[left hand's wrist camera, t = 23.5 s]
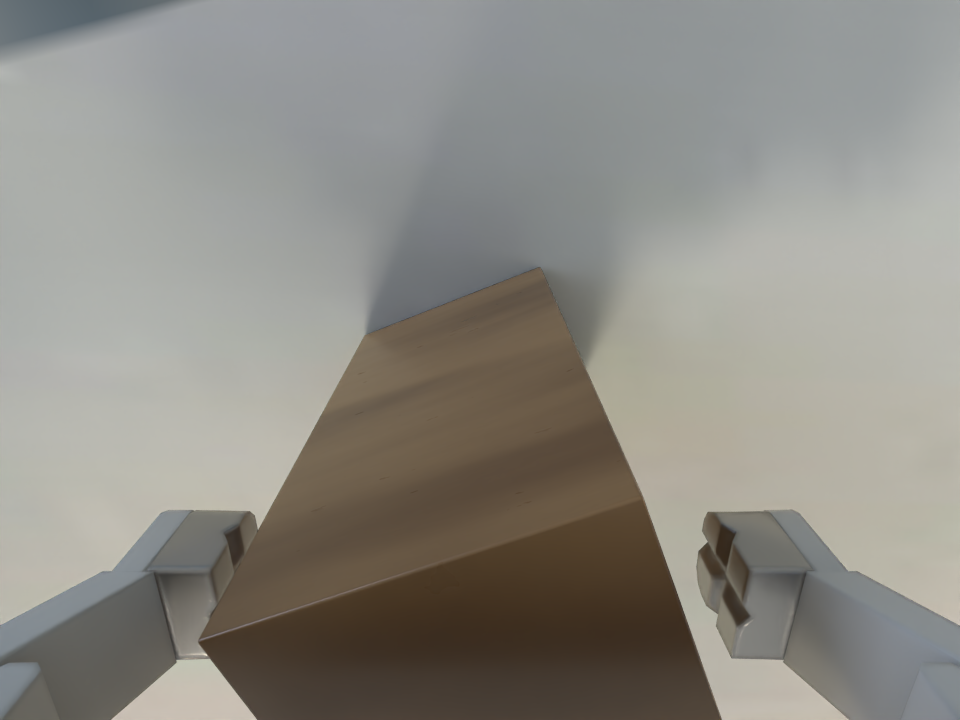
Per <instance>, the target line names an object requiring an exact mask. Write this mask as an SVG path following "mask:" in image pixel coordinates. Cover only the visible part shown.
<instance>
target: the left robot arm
mask: <svg viewBox="0 0 960 720" xmlns="http://www.w3.org/2000/svg"><path fill="white" fill-rule="evenodd" d="M257 532H258V529H257V524H256V519H255V515H254V514H252V513H251V512H250V511H212V510H196V511H193V510H168V511H165V512H162V513H161V514H160V515H159V516H158V517H157V518H156V519H155V521H154V522H153V523H152V524H151V525H150V526H149V528H148V529H147V530H146V531H145V532H144V534H143V535H142V536H141V537H140V538H139V540H138V541H137V542H136V543H135V544H134V546H133V547H132V548H131V549H130V550H129V551H128V553H127V554H126V555H125V556H124V557H123V559H122V560H121V561H120V562H119V563H118V565H117V566H116V567H115V568H114V569H113V570H112V571H103V572H101V573H99V574H97V575H95V576H93V577H91V578H89V579H87V580H86V581H84V582H82V583H80V584H78V585H76V586H74V587H72V588H70V589H69V590H67V591H65V592H63V593H61V594H59V595H57V596H55V597H53V598H52V599H50V600H48V601H46V602H44V603H42V604H40V605H38V606H36V607H34V608H33V609H31V610H29V611H27V612H25V613H23V614H21V615H19V616H17V617H16V618H14V619H12V620H10V621H8V622H6V623H4V624H2V625H0V720H111V719H112V718H113V717H114V716H116V715H117V714H118V713H119V712H120V711H121V710H123V709H124V708H125V707H126V706H127V705H128V704H129V703H131V702H132V701H133V700H134V699H135V698H136V697H138V696H139V695H140V694H141V693H142V692H143V691H144V690H146V689H147V688H148V687H149V686H150V685H151V684H152V683H154V682H155V681H156V680H157V679H158V678H159V677H161V676H162V675H163V674H164V673H165V672H166V671H167V670H169V669H170V668H171V667H172V666H173V665H174V664H176V662H177V661H176V660H184V659H210V658H209V657H208V655H207V654H206V653H205V652H204V650H203V649H202V648H201V646H200V645H199V643H198V639H199V638H200V636H201V634H202V632H203V630H204V628H205V627H206V625H207V623H208V621H209V619H210V617H211V616H212V614H213V612H214V610H215V608H216V606H217V605H218V603H219V601H220V599H221V597H222V596H223V594H224V592H225V590H226V588H227V586H228V585H229V583H230V581H231V579H232V577H233V575H234V574H235V572H236V570H237V568H238V566H239V564H240V563H241V561H242V559H243V557H244V555H245V553H246V552H247V550H248V548H249V546H250V544H251V543H252V541H253V539H254V537H255V535H256V533H257ZM702 532H703V534H704V535H705V537H706V539H707V541H708V542H707V543H706V544H705V545H704V546H703V547H702V548H701V549H700V550H699V552H698V559H697V579H698V585H699V588H700V592H701V595H702V597H703V600H704V602H705V604H706V606H707V607H709V608H710V609H712V610H713V611H714V612H716V613H717V614H718V618H717V623H716V627H717V629H718V631H719V633H720V635H721V637H722V640H723V642H724V644H725V646H726V648H727V650H728V652H729V654H730V656H731V658H740V659H776V660H784V661H783V662H784V663H785V664H786V665H787V666H788V667H789V668H791V669H792V670H793V671H794V672H795V673H796V674H797V675H799V676H800V677H801V678H802V679H803V680H804V681H805V682H807V683H808V684H809V685H810V686H811V687H812V688H814V689H815V690H816V691H817V692H818V693H819V694H820V695H822V696H823V697H824V698H825V699H826V700H827V701H828V702H830V703H831V704H832V705H833V706H834V707H835V708H836V709H838V710H839V711H840V712H841V713H842V714H843V715H845V716H846V717H847V718H848V719H849V720H960V626H959V625H957V624H955V623H954V622H952V621H950V620H948V619H946V618H944V617H942V616H940V615H939V614H937V613H935V612H933V611H931V610H929V609H927V608H925V607H923V606H922V605H920V604H918V603H916V602H914V601H912V600H910V599H908V598H906V597H905V596H903V595H901V594H899V593H897V592H895V591H893V590H891V589H890V588H888V587H886V586H884V585H882V584H880V583H878V582H876V581H874V580H873V579H871V578H869V577H867V576H865V575H863V574H861V573H859V572H857V571H847V569H846V568H845V567H844V566H843V565H842V563H841V562H840V561H839V560H838V559H837V557H836V556H835V555H834V554H833V553H832V552H831V550H830V549H829V548H828V547H827V546H826V544H825V543H824V542H823V541H822V540H821V538H820V537H819V536H818V535H817V534H816V533H815V531H814V530H813V529H812V528H811V527H810V525H809V524H808V523H807V522H806V521H805V519H804V518H803V517H802V516H801V515H800V514H799V513H798V512H796V511H794V510H767V511H757V512H708V513H707V515H706V517H705V519H704V523H703V528H702Z"/></svg>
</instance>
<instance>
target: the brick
mask: <svg viewBox="0 0 960 720" xmlns="http://www.w3.org/2000/svg"><path fill="white" fill-rule="evenodd" d="M198 643H199V645H200V646H201V648H202V649H203V650H204V652H205V653H206V654H207V655H208V657H209V658H210V659H211V661H212V662H213V663H214V664H215V666H216V667H217V668H218V670H219V671H220V672H221V673H222V675H223V676H224V677H225V679H226V680H227V681H228V682H229V684H230V685H231V686H232V688H233V689H234V690H235V692H236V693H237V694H238V695H239V697H240V698H241V699H242V701H243V702H244V703H245V704H246V706H247V707H248V708H249V710H250V711H251V712H252V713H253V715H254V716H255V717H256V719H257V720H722V719H721V716H720V713H719V710H718V707H717V705H716V702H715V699H714V696H713V693H712V690H711V688H710V685H709V682H708V679H707V676H706V673H705V671H704V668H703V665H702V662H701V659H700V656H699V654H698V651H697V648H696V645H695V642H694V639H693V637H692V634H691V631H690V628H689V625H688V622H687V620H686V617H685V614H684V611H683V608H682V605H681V603H680V600H679V597H678V594H677V591H676V588H675V586H674V583H673V580H672V577H671V574H670V572H669V569H668V566H667V563H666V560H665V557H664V555H663V552H662V549H661V546H660V543H659V540H658V538H657V535H656V532H655V529H654V526H653V523H652V521H651V518H650V515H649V512H648V509H647V506H646V504H645V501H644V498H643V496H642V493H641V491H640V489H639V487H638V484H637V482H636V480H635V478H634V475H633V473H632V471H631V469H630V466H629V464H628V462H627V460H626V457H625V455H624V453H623V451H622V448H621V446H620V444H619V442H618V440H617V437H616V435H615V433H614V431H613V428H612V426H611V424H610V422H609V419H608V417H607V415H606V413H605V410H604V408H603V406H602V404H601V401H600V399H599V397H598V395H597V392H596V390H595V388H594V386H593V384H592V381H591V379H590V377H589V375H588V372H587V370H586V368H585V366H584V363H583V361H582V359H581V357H580V354H579V352H578V350H577V348H576V345H575V343H574V341H573V339H572V336H571V334H570V332H569V330H568V328H567V325H566V323H565V321H564V319H563V316H562V314H561V312H560V310H559V307H558V305H557V303H556V301H555V298H554V296H553V294H552V292H551V289H550V287H549V285H548V283H547V280H546V278H545V276H544V274H543V272H542V269H541V268H540V267H538V268H536V269H533V270H531V271H528V272H526V273H523V274H521V275H518V276H515V277H513V278H510V279H508V280H505V281H503V282H500V283H498V284H495V285H492V286H490V287H487V288H485V289H482V290H480V291H477V292H475V293H472V294H469V295H467V296H464V297H462V298H459V299H457V300H454V301H452V302H449V303H446V304H444V305H441V306H439V307H436V308H434V309H431V310H429V311H426V312H423V313H421V314H418V315H416V316H413V317H411V318H408V319H406V320H403V321H400V322H398V323H395V324H393V325H390V326H388V327H385V328H383V329H380V330H377V331H375V332H372V333H370V334H367V335H365V336H364V338H363V340H362V341H361V343H360V345H359V347H358V349H357V351H356V352H355V354H354V356H353V358H352V360H351V362H350V363H349V365H348V367H347V369H346V371H345V372H344V374H343V376H342V378H341V380H340V382H339V383H338V385H337V387H336V389H335V391H334V393H333V394H332V396H331V398H330V400H329V402H328V404H327V405H326V407H325V409H324V411H323V413H322V415H321V416H320V418H319V420H318V422H317V424H316V425H315V427H314V429H313V431H312V433H311V435H310V436H309V438H308V440H307V442H306V444H305V446H304V447H303V449H302V451H301V453H300V455H299V457H298V458H297V460H296V462H295V464H294V466H293V468H292V469H291V471H290V473H289V475H288V477H287V479H286V480H285V482H284V484H283V486H282V488H281V489H280V491H279V493H278V495H277V497H276V499H275V500H274V502H273V504H272V506H271V508H270V510H269V511H268V513H267V515H266V517H265V519H264V521H263V522H262V524H261V526H260V528H259V530H258V532H257V533H256V535H255V537H254V539H253V541H252V543H251V544H250V546H249V548H248V550H247V552H246V553H245V555H244V557H243V559H242V561H241V563H240V564H239V566H238V568H237V570H236V572H235V574H234V575H233V577H232V579H231V581H230V583H229V585H228V586H227V588H226V590H225V592H224V594H223V596H222V597H221V599H220V601H219V603H218V605H217V606H216V608H215V610H214V612H213V614H212V616H211V617H210V619H209V621H208V623H207V625H206V627H205V628H204V630H203V632H202V634H201V636H200V638H199V639H198Z"/></svg>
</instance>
